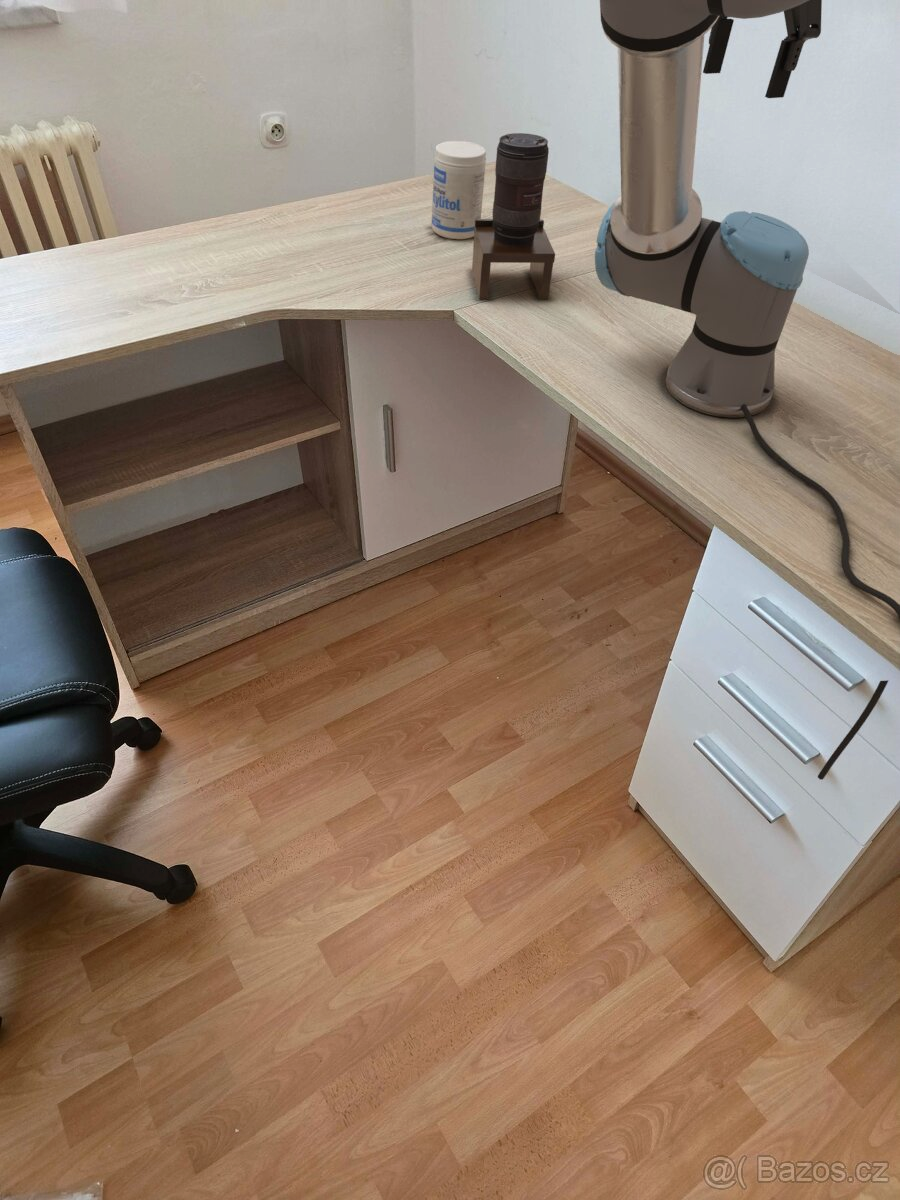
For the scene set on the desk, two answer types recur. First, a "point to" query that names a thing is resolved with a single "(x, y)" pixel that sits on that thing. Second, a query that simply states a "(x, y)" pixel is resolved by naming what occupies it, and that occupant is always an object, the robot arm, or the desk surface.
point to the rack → (511, 257)
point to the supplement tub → (457, 188)
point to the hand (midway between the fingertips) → (741, 84)
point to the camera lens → (519, 187)
